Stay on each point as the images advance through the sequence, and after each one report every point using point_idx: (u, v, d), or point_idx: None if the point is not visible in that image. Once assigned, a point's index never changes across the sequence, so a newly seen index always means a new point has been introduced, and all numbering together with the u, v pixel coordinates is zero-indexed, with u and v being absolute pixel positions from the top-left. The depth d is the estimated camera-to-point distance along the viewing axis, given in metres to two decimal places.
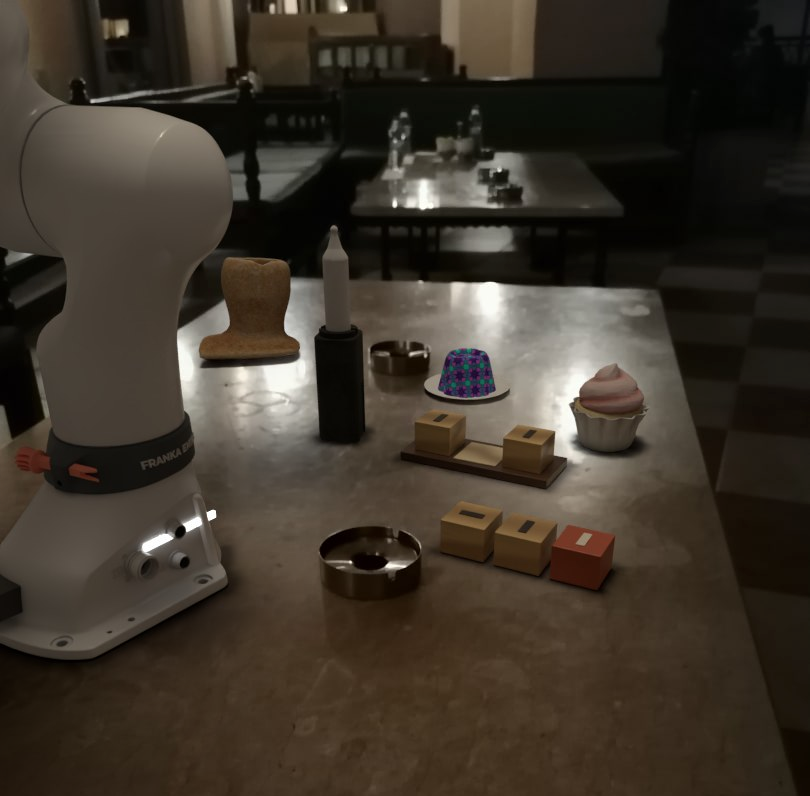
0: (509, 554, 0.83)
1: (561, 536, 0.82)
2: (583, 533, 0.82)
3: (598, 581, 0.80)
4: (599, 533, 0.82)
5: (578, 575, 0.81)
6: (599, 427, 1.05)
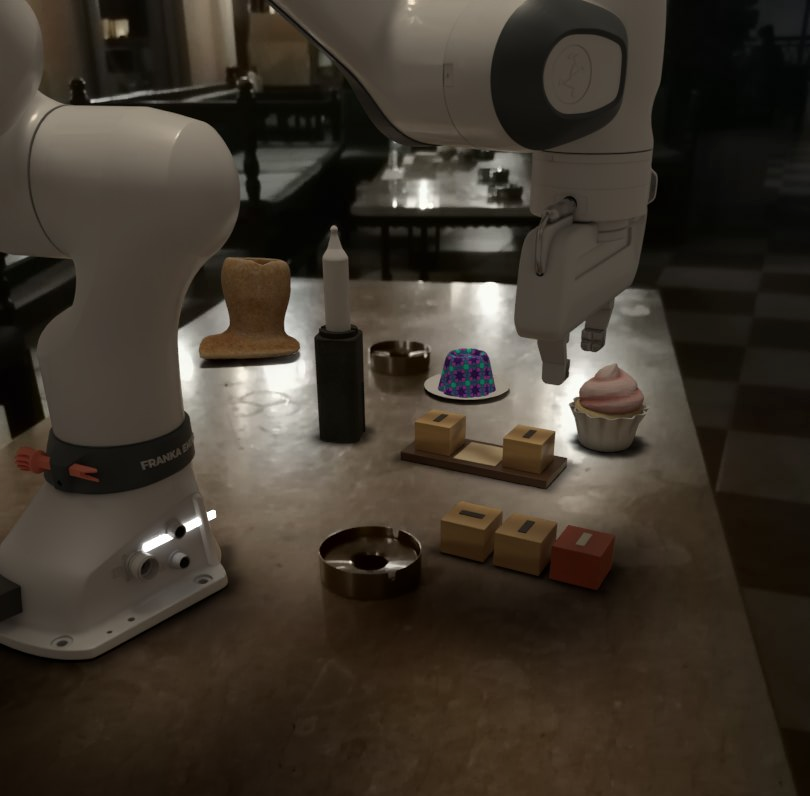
0: (509, 554, 0.83)
1: (561, 536, 0.82)
2: (583, 533, 0.82)
3: (598, 581, 0.80)
4: (599, 533, 0.82)
5: (578, 575, 0.81)
6: (599, 427, 1.05)
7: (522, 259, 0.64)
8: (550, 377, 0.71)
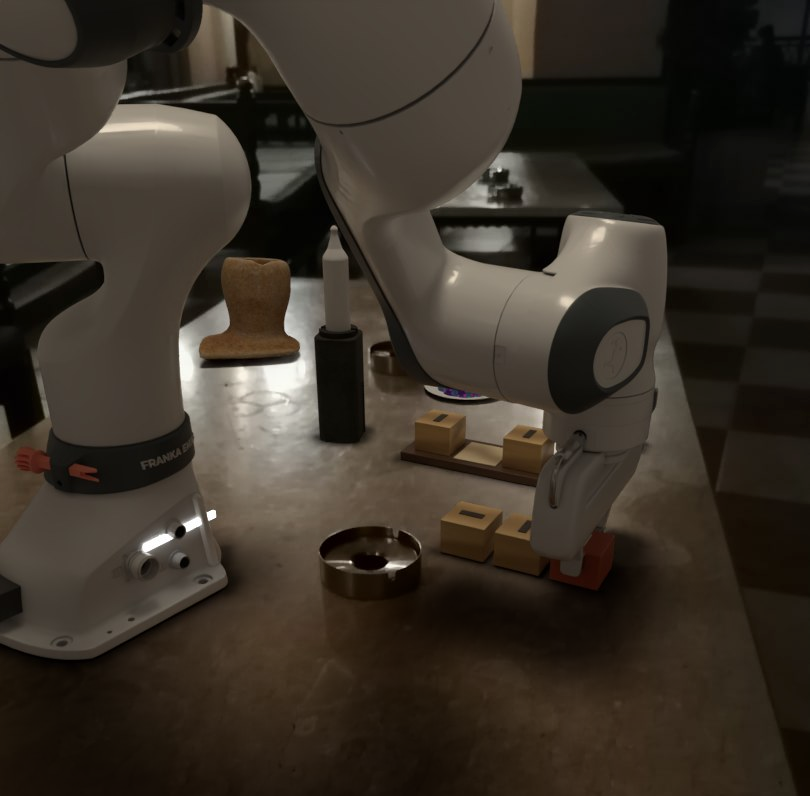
0: (509, 554, 0.83)
1: None
2: None
3: (598, 581, 0.80)
4: (599, 533, 0.82)
5: None
6: None
7: (537, 492, 0.71)
8: (567, 569, 0.79)
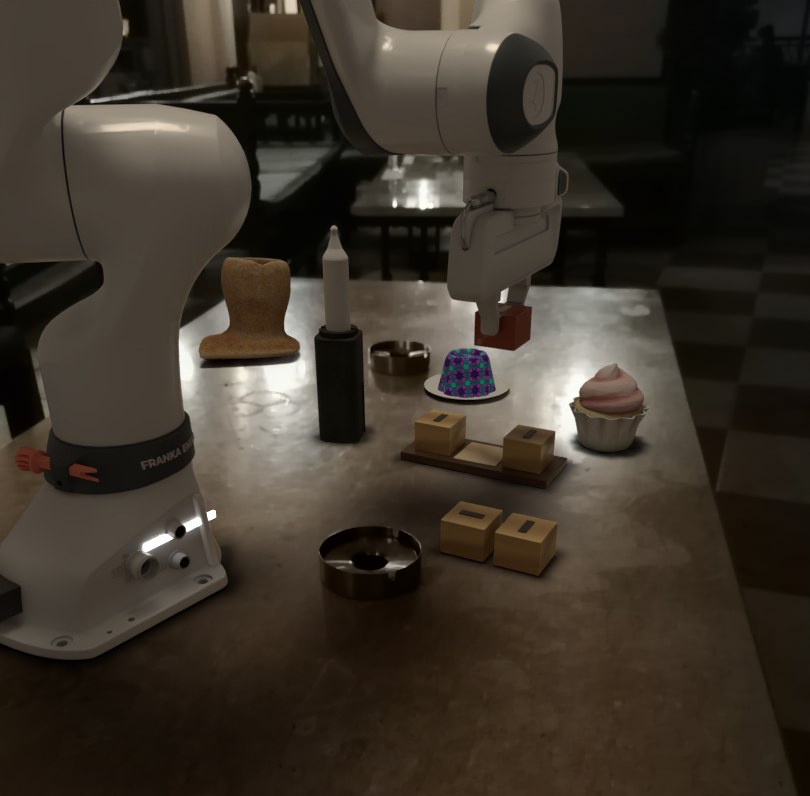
0: (509, 554, 0.83)
1: None
2: (504, 306, 0.94)
3: (515, 342, 0.91)
4: (518, 305, 0.94)
5: (498, 338, 0.92)
6: (599, 427, 1.05)
7: (452, 237, 0.82)
8: (487, 329, 0.90)
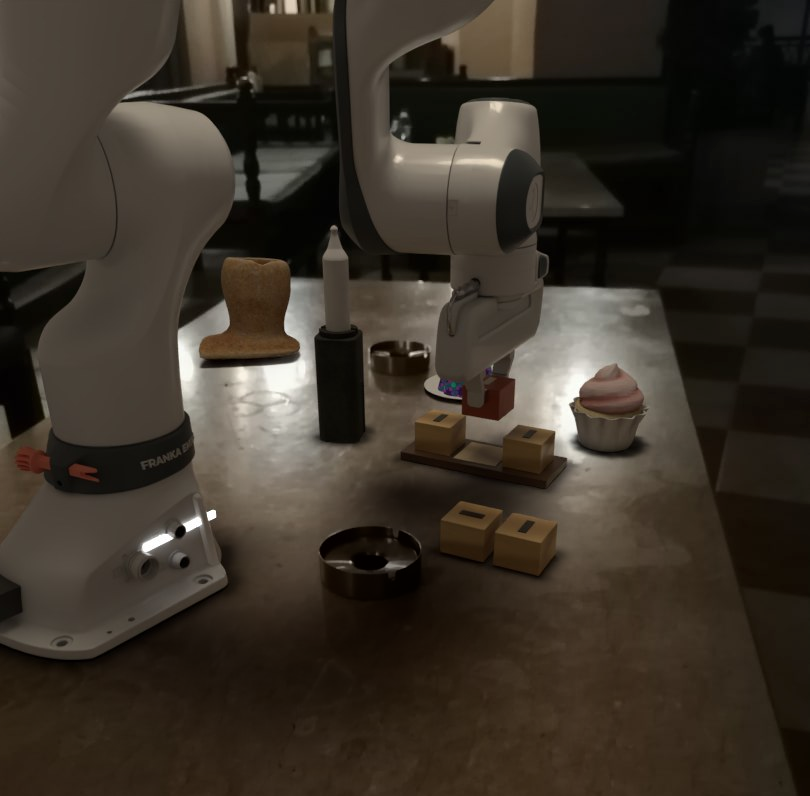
0: (509, 554, 0.83)
1: None
2: (489, 378, 1.01)
3: (499, 413, 0.99)
4: (502, 377, 1.01)
5: (483, 409, 0.99)
6: (599, 427, 1.05)
7: (439, 324, 0.89)
8: (473, 402, 0.98)
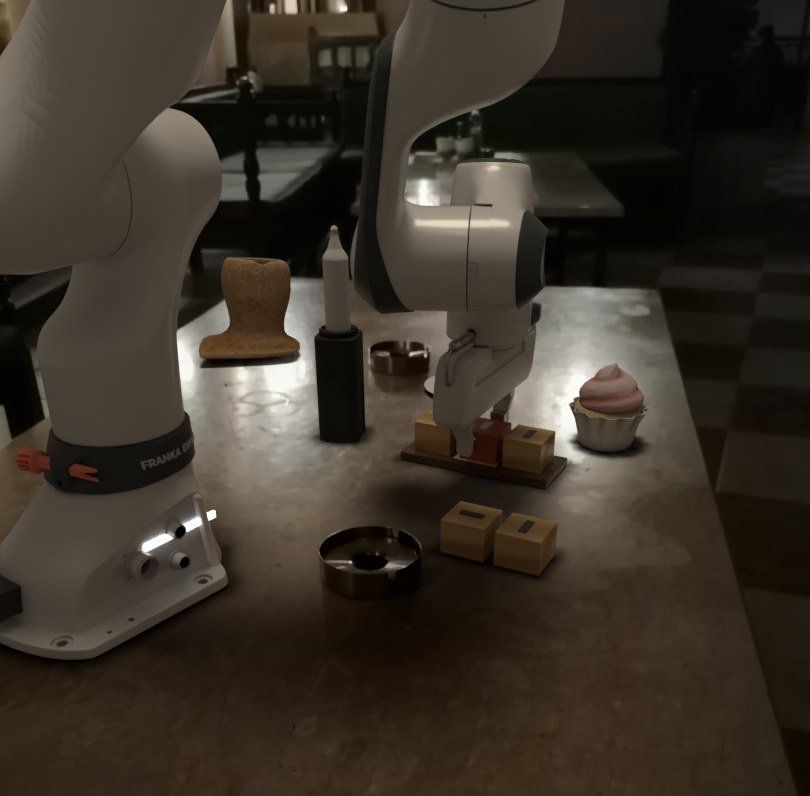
0: (509, 554, 0.83)
1: None
2: (486, 422, 1.04)
3: (496, 457, 1.02)
4: (499, 421, 1.04)
5: (480, 453, 1.02)
6: (599, 427, 1.05)
7: (436, 374, 0.92)
8: (462, 451, 0.99)
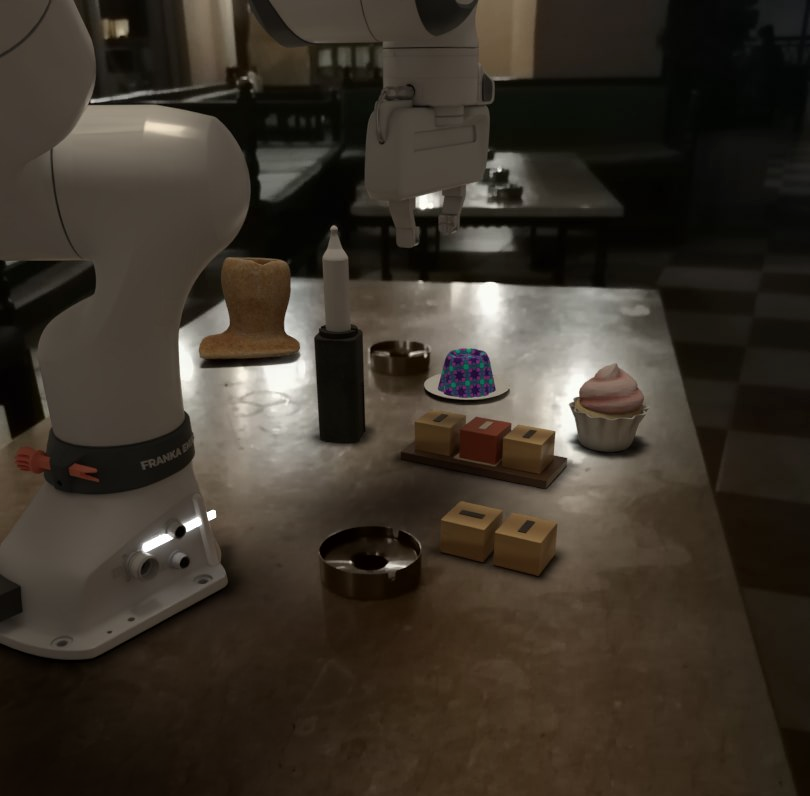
0: (509, 554, 0.83)
1: (468, 423, 1.03)
2: (486, 422, 1.04)
3: (496, 457, 1.02)
4: (499, 421, 1.04)
5: (480, 453, 1.02)
6: (599, 427, 1.05)
7: (368, 131, 0.79)
8: (403, 241, 0.86)
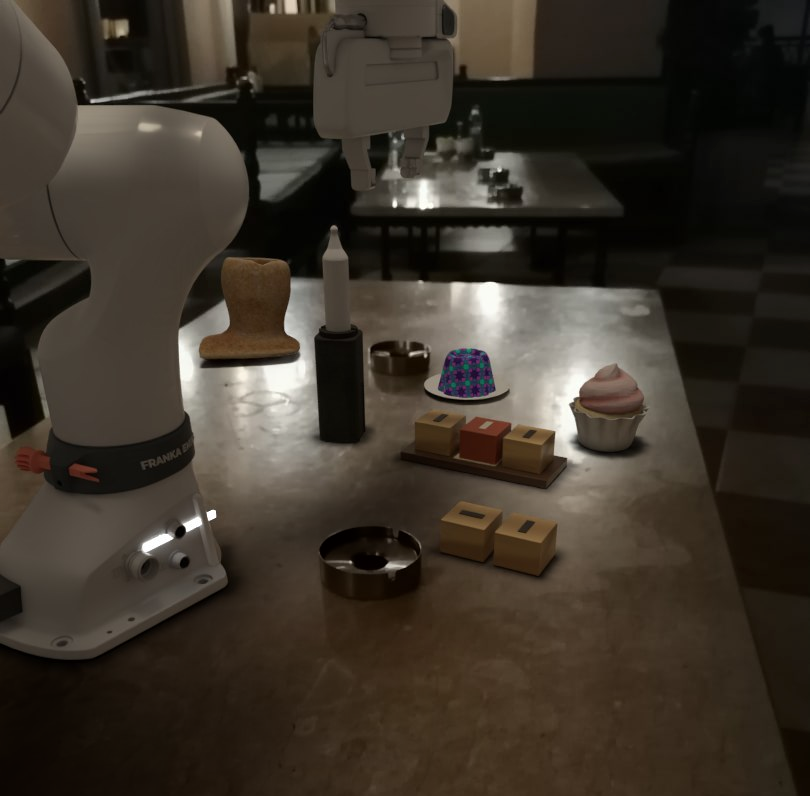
0: (509, 554, 0.83)
1: (468, 423, 1.03)
2: (486, 422, 1.04)
3: (496, 457, 1.02)
4: (499, 421, 1.04)
5: (480, 453, 1.02)
6: (599, 427, 1.05)
7: (315, 63, 0.74)
8: (358, 184, 0.82)
